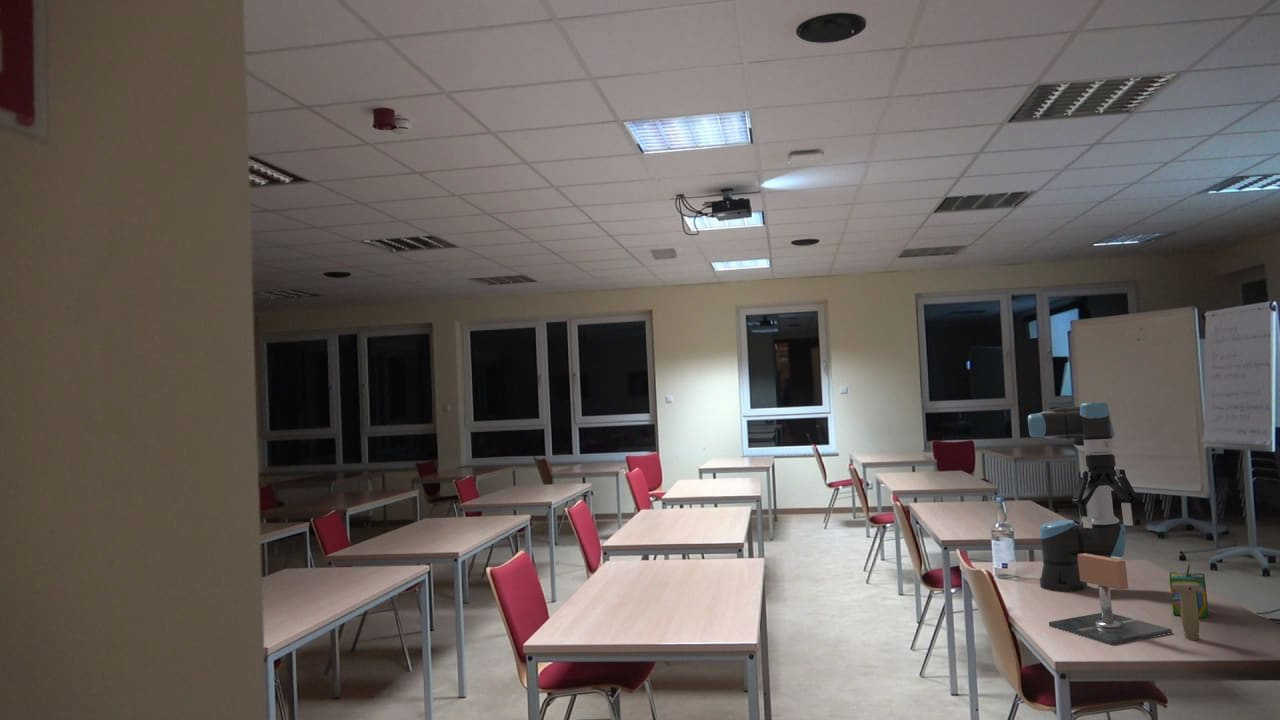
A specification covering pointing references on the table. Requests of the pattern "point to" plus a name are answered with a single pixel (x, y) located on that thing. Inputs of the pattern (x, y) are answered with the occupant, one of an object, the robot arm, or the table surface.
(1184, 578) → the chalk box
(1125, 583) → the pink plank with tab
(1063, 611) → the table surface
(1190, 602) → the handle
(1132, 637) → the post stand
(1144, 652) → the table surface
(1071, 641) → the table surface
